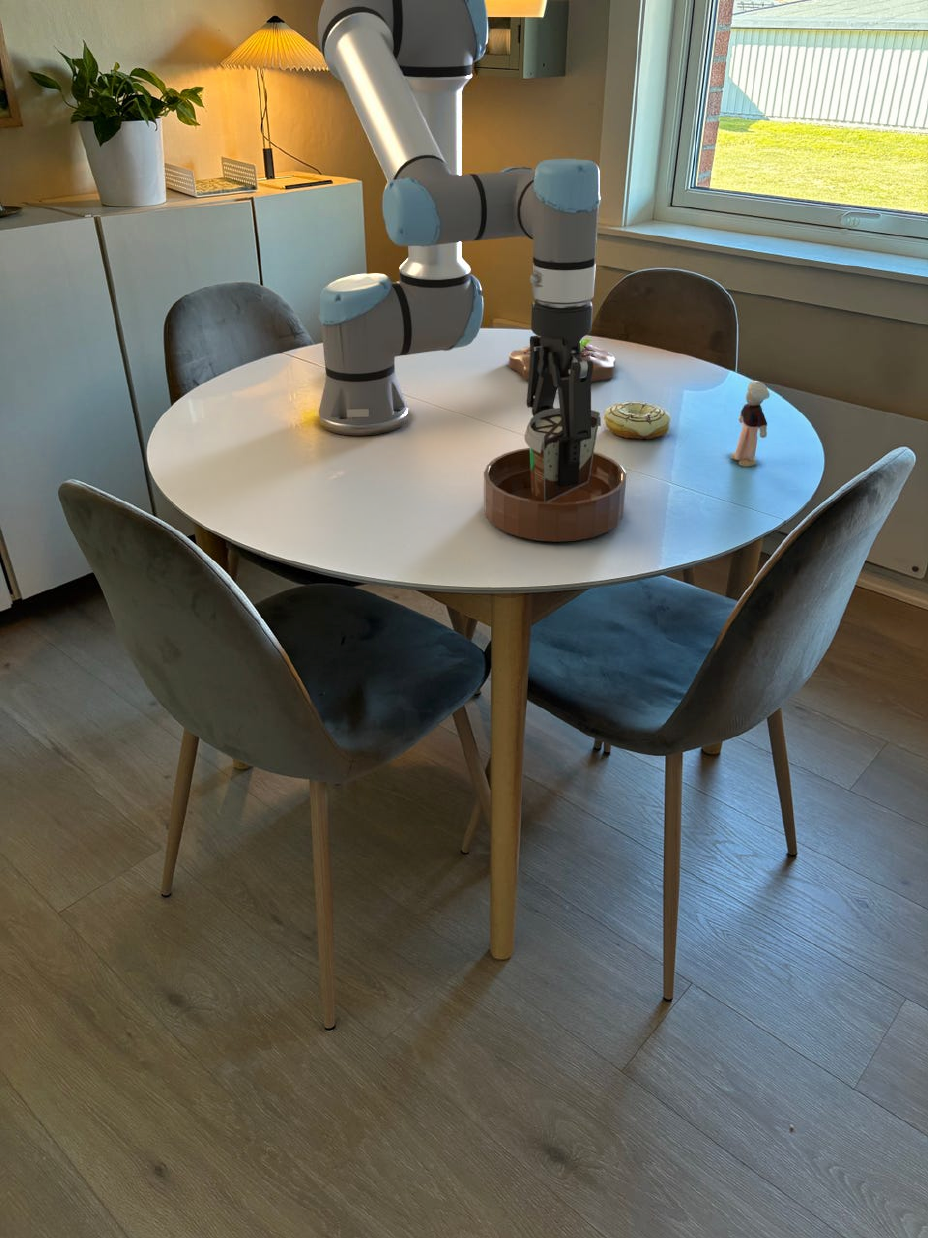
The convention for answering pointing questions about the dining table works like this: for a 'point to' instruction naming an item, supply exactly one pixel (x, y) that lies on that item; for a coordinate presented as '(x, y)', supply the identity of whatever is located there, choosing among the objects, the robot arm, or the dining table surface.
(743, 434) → the grandmother figurine
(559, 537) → the bowl
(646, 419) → the decorated donut
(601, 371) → the plant
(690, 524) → the dining table surface
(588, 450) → the food container
